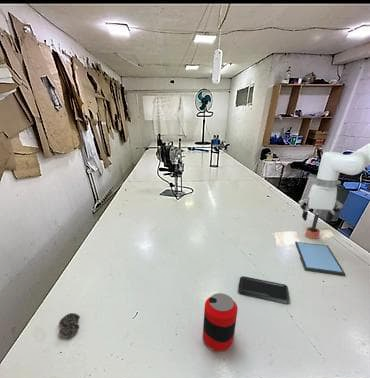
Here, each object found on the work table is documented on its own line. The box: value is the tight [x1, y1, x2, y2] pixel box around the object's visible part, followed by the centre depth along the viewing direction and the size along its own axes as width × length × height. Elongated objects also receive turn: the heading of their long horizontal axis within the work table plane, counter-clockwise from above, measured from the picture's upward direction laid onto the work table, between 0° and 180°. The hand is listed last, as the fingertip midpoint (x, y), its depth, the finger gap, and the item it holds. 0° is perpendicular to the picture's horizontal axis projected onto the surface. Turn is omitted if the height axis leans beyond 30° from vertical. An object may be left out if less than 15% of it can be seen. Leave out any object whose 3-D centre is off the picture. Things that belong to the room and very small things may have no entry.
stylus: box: [311, 211, 321, 232], centre depth 106 cm, size 2×2×12 cm
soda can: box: [202, 292, 239, 352], centre depth 57 cm, size 8×8×12 cm
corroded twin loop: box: [58, 312, 81, 339], centre depth 61 cm, size 5×8×1 cm, turn 23°
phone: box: [237, 275, 290, 304], centre depth 75 cm, size 8×1×15 cm
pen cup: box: [304, 226, 321, 241], centre depth 107 cm, size 6×6×4 cm
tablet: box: [294, 241, 346, 277], centre depth 93 cm, size 13×20×1 cm, turn 166°
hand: (316, 220), depth 105 cm, fingers open, 9 cm apart
